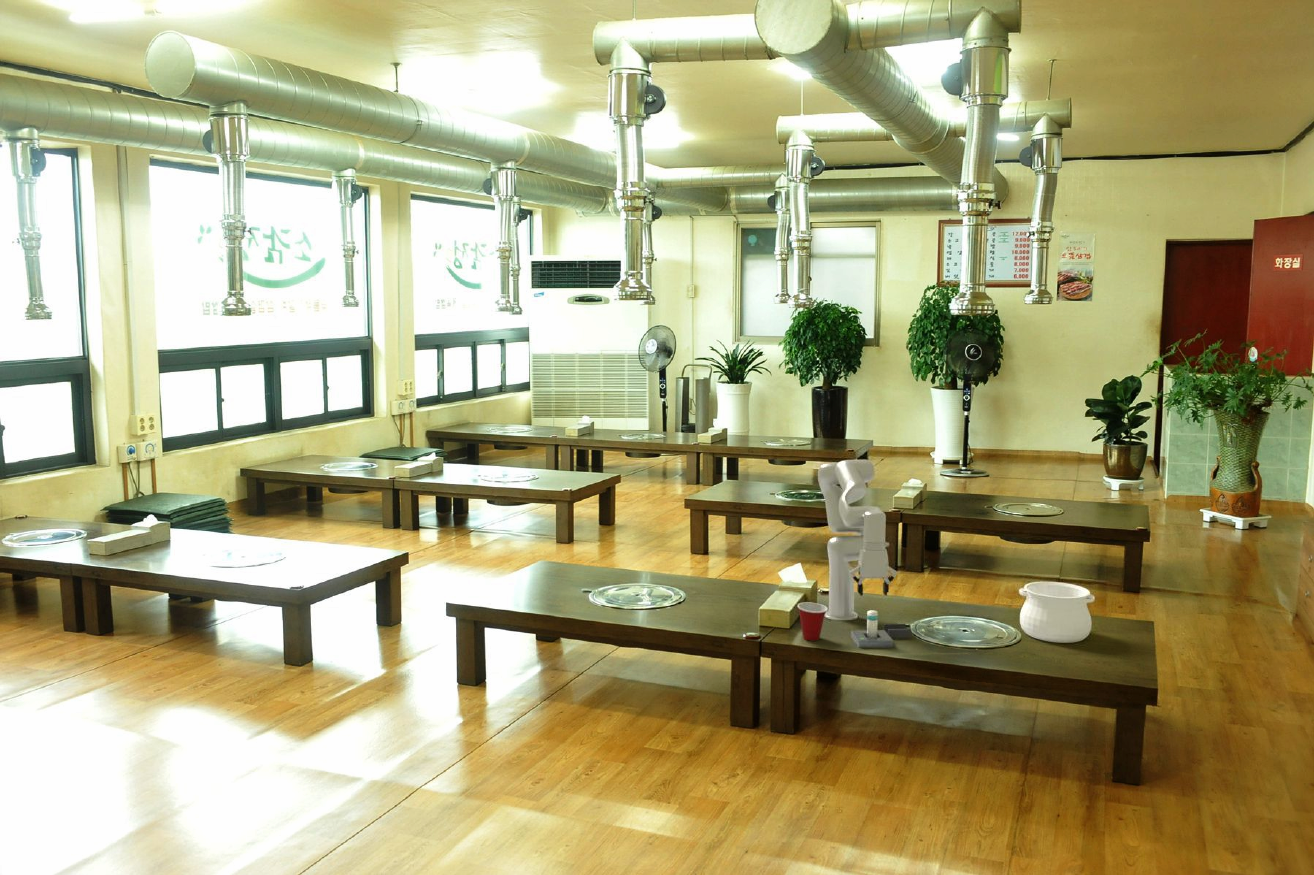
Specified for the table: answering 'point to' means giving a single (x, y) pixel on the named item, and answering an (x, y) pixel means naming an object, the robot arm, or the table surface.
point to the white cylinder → (872, 624)
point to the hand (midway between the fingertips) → (872, 594)
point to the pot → (1056, 612)
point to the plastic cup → (811, 619)
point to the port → (871, 639)
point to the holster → (897, 630)
